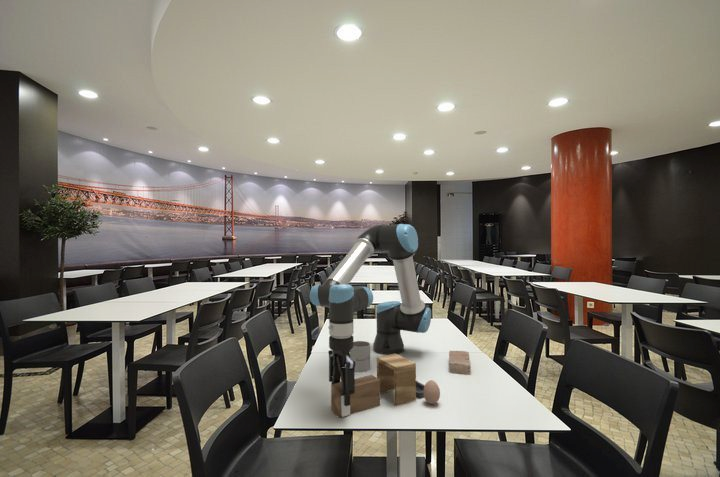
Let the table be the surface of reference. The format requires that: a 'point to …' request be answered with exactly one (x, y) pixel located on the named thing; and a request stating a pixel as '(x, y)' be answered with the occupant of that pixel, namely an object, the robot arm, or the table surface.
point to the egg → (431, 392)
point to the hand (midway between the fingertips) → (341, 410)
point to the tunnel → (397, 377)
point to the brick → (459, 362)
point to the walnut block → (357, 395)
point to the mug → (361, 356)
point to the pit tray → (419, 390)
